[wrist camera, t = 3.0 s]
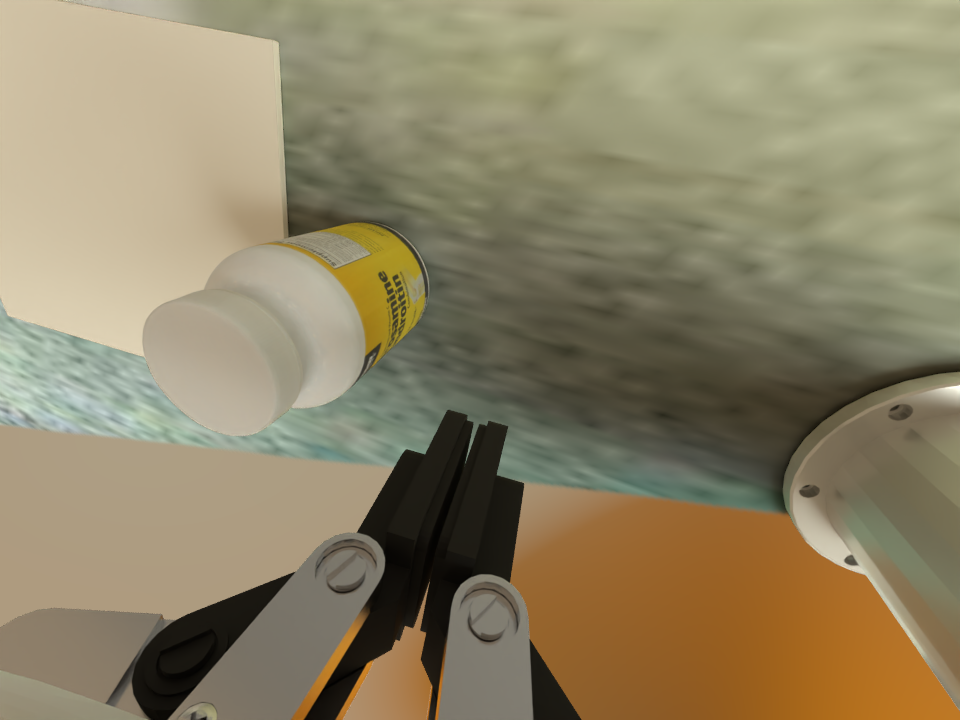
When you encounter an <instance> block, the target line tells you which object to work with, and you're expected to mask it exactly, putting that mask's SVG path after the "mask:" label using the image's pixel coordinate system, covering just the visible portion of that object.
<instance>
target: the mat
mask: <svg viewBox="0 0 960 720" xmlns="http://www.w3.org/2000/svg"><path fill="white" fill-rule="evenodd" d="M285 238H289V235H288V216H287V196H286V176H285V156H284V136H283V117H282V97H281V77H280V57H279V42H276V41H274V40H270V39H264V38H259V37H254V36H248V35H243V34H237V33H232V32H227V31H221V30H216V29H210V28H205V27H199V26H194V25H189V24H183V23H178V22H172V21H167V20H162V19H156V18H151V17H145V16H140V15H134V14H129V13H124V12H118V11H113V10H107V9H102V8H97V7H91V6H86V5H80V4H75V3H69V2H64V1H59V0H0V298H1V301H2V303H3V305H4V308H5V310H6V312H7V315H8V316H10V317H14V318H17V319H20V320H24V321H27V322H30V323H34V324H37V325H40V326H43V327H47V328H50V329H53V330H57V331H60V332H63V333H66V334H70V335H73V336H76V337H80V338H83V339H86V340H89V341H93V342H96V343H99V344H103V345H106V346H109V347H113V348H116V349H119V350H122V351H126V352H129V353H132V354H136V355H139V356H142V357H145V356H144V352H143V345H142V334H143V328H144V325H145V322H146V319H147V318H148V316H149V315H150V314H151V312H152V311H153V310H154V309H156V308H157V307H158V306H160V305H161V304H164V303H166V302H168V301H171V300H174V299H177V298H180V297H182V296H185V295H187V294H190V293H193V292H196V291H200V290H204V287H205V285H206V283H207V281H208V278H209V277H210V275H211V274H212V272H213V271H214V269H215V268H216V267H217V266H218V265H219V264H220V263H221V262H222V261H223V260H224V259H225V258H227V257H228V256H230V255H231V254H233V253H235V252H237V251H240V250H242V249H245V248H248V247H252V246H256V245H260V244H264V243H268V242H273V241H277V240H281V239H285Z"/></svg>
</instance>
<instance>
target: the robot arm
mask: <svg viewBox="0 0 960 720" xmlns="http://www.w3.org/2000/svg"><path fill="white" fill-rule="evenodd" d="M472 429H473V422H471V421H467V415H466V414H462V413H458V412H455V411H451V410H447V412H446V414H445V416H444V418H443V420H442V422H441V424H440V426H439V428H438V430H437V432H436V434H435V436H434V438H433V440H432V442H431V444H430V446H429V448H428V450H427V452H426V454H421V453H418V452H414V451H411V450H407V449H406V450H405V451H404V452H403V454H402V455H401V457H400V459H399V461H398V462H397V464H396V466H395V467H394V469H393V471H392V473H391V474H390V476H389V478H388V480H387V481H386V483H385V485H384V487H383V488H382V490H381V492H380V493H379V495H378V497H377V499H376V500H375V502H374V504H373V506H372V507H371V509H370V511H369V513H368V514H367V516H366V518H365V519H364V521H363V523H362V525H361V526H360V528H359V530H358V532H357V533H344V534H340V535H335V536H334V537H332V538H330V539H328V540H326V541H324V542H323V543H322V544H321V545H320V546H319V547H317V548H316V549H315V550H314V552H313V553H312V554H311V555H310V556H309V557H308V558H307V560H306V561H305V562H304V563H303V564H302V565H301V567H300V568H299V569H298V570H297V571H296V572H293V573H291V574H288V575H286V576H283V577H281V578H278V579H276V580H273V581H270V582H268V583H265V584H263V585H260V586H258V587H255V588H253V589H251V590H248V591H245V592H243V593H240V594H238V595H235V596H233V597H230V598H228V599H225V600H222V601H220V602H217V603H215V604H212V605H210V606H207V607H205V608H202V609H200V610H197V611H195V612H192V613H190V614H187V615H185V616H183V617H181V618H179V619H177V620H165V619H164V618H163V615H162V614H149V613H132V612H131V613H130V612H115V611H98V610H81V609H62V608H50V609H41V610H36V611H33V612H30V613H27V614H25V615H22V616H19V617H17V618H15V619H14V620H12V621H10V622H9V623H7V624H5V625H3V626H2V627H0V720H343V718H344V716H345V714H346V713H347V711H348V709H349V707H350V705H351V703H352V702H353V700H354V698H355V696H356V694H357V693H358V691H359V689H360V687H361V685H362V683H363V682H364V680H365V678H366V676H367V674H368V672H369V671H370V669H371V667H372V664H373V662H374V659H376V658H378V657H379V656H381V655H383V654H385V653H386V652H388V651H390V650H392V647H393V645H394V642H395V639H396V640H399V641H400V638H401V635H402V632H403V630H404V627H405V626H408V627H411V628H413V627H414V625H415V622H416V620H417V616H418V613H419V611H420V608H421V605H422V601H423V599H424V596H425V593H426V590H427V587H428V584H429V581H430V584H429V588H428V593H427V598H426V604H425V609H424V614H423V619H422V624H421V629H420V630H421V631H423V632H426V637H425V642H424V647H423V651H422V656H421V661H422V664H423V666H424V668H425V670H426V673H427V675H428V677H429V680H430V682H431V684H432V686H431V691H430V698H429V705H428V712H427V719H426V720H581V718H580V717H579V716H578V714H577V712H576V711H575V709H574V708H573V706H572V704H571V703H570V701H569V700H568V698H567V697H566V695H565V693H564V692H563V690H562V689H561V687H560V686H559V684H558V682H557V681H556V680H555V678H554V676H553V675H552V673H551V672H550V670H549V669H548V667H547V665H546V664H545V662H544V661H543V659H542V658H541V656H540V654H539V653H538V652H537V650H536V648H535V647H534V645H533V643H532V642H531V640H530V639H529V621H528V614H527V608H526V604H525V602H524V600H523V599H522V596H521V594H520V593H519V592H518V591H517V590H516V589H515V588H514V586H513V585H512V584H510V577H511V571H512V563H513V558H514V550H515V544H516V537H517V531H518V523H519V517H520V510H521V504H522V497H523V490H524V483H522V482H518V481H515V480H511V479H508V478H504V477H501V476H497V470H498V466H499V462H500V458H501V454H502V450H503V445H504V441H505V437H506V433H507V429H508V426H506V425H502V424H498V423H495V422H491V421H488V424H487V426H485V425H481V424H479V427H478V430H477V432H476V435H475V438H474V441H473V444H472V447H471V449H470V452H469V455H468V458H467V461H466V457H467V452H468V447H469V443H470V438H471V433H472ZM465 461H466V464H465ZM464 466H465V467H464ZM783 496H784V502H785V507H786V510H787V512H788V514H789V516H790V518H791V520H792V522H793V523H794V525H795V527H796V528H797V530H798V531H799V533H800V534H801V535H802V537H803V539H804V540H805V541H806V542H807V543H808V544H809V545H810V546H811V547H812V548H813V549H815V550H816V551H817V552H818V553H819V554H821V555H822V556H824V557H826V558H827V559H829V560H831V561H832V562H834V563H836V564H837V565H840V566H842V567H845V568H847V569H849V570H852V571H854V572H857V573H860V574H864V575H866V576H867V577H868V578H869V580H870V581H871V583H872V584H873V586H874V587H875V589H876V590H877V591H878V593H879V594H880V596H881V597H882V599H883V600H884V602H885V603H886V605H887V606H888V607H889V609H890V610H891V612H892V613H893V615H894V616H895V617H896V619H897V620H898V622H899V623H900V625H901V626H902V628H903V629H904V630H905V632H906V634H907V635H908V636H909V638H910V639H911V641H912V642H913V644H914V645H915V647H916V648H917V650H918V651H919V652H920V654H921V655H922V657H923V658H924V660H925V661H926V663H927V664H928V665H929V667H930V668H931V670H932V671H933V673H934V674H935V675H936V677H937V678H938V680H939V681H940V683H941V684H942V686H943V687H944V689H945V690H946V691H947V693H948V694H949V696H950V697H951V698H952V700H953V702H954V703H955V705H956V706H957V708H958V709H959V710H960V372H953V373H942V374H936V375H931V376H927V377H922V378H917V379H913V380H908V381H904V382H901V383H898V384H895V385H893V386H890V387H887V388H884V389H881V390H878V391H875V392H873V393H871V394H869V395H867V396H865V397H863V398H861V399H859V400H857V401H855V402H853V403H851V404H849V405H847V406H845V407H843V408H842V409H840V410H839V411H837V412H836V413H835V414H833V415H832V416H830V417H829V418H827V419H826V420H824V421H823V422H822V423H821V424H820V425H819V426H818V427H816V428H815V429H814V430H813V431H812V432H811V433H810V434H809V435H808V436H807V437H806V438H805V439H804V440H803V442H802V443H801V445H800V446H799V447H798V449H797V450H796V452H795V453H794V454H793V456H792V458H791V460H790V463H789V465H788V467H787V470H786V472H785V476H784V485H783Z"/></svg>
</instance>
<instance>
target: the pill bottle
mask: <svg viewBox="0 0 960 720" xmlns="http://www.w3.org/2000/svg"><path fill="white" fill-rule="evenodd" d="M428 299H429V279H428V274H427V270H426V267H425V265H424V262H423V260H422V258H421V256H420V255H419V253H418V252H417V250H416V249H415V247H414V246H413V245H412V244H411V243H410V242H409V241H408V240H407V239H406V238H405V237H404V236H403V235H401V234H400V233H399V232H397V231H395V230H394V229H392V228H390V227H388V226H385V225H382V224H379V223H374V222H355V223H349V224H345V225H341V226H337V227H333V228H329V229H324V230H320V231H315V232H311V233H307V234H303V235H298V236H294V237H290V238H285V239H281V240H277V241H273V242H268V243H264V244H260V245H256V246H252V247H248V248H245V249H242V250H240V251H237V252H235V253H233V254H231V255H230V256H228V257H227V258H225V259H224V260H223V261H222V262H221V263H220V264H219V265H218V266H217V267H216V268H215V269H214V271H213V272H212V274H211V275H210V277H209V278H208V281H207V283H206V285H205V287H204V290H200V291H196V292H193V293H190V294H187V295H185V296H182V297H180V298H177V299H174V300H171V301H168V302H166V303H164V304H161V305H160V306H158V307H157V308H156V309H154V310H153V311H152V312H151V314H150V315H149V316H148V318H147V319H146V322H145V325H144V328H143V334H142V345H143V352H144V356H145V359H146V362H147V365H148V367H149V370H150V372H151V374H152V376H153V378H154V379H155V381H156V383H157V384H158V386H159V387H160V388H161V390H162V391H163V392H164V394H165V395H166V396H167V397H168V398H169V399H170V400H171V402H172V403H173V404H174V405H175V406H176V407H178V408H179V409H180V410H181V411H182V412H183V413H184V414H186V415H187V416H188V417H189V418H191V419H192V420H193V421H195V422H196V423H198V424H200V425H202V426H204V427H206V428H208V429H210V430H212V431H215V432H218V433H221V434H225V435H229V436H247V435H252V434H255V433H258V432H260V431H262V430H263V429H265V428H266V427H268V426H269V425H270V424H272V423H273V422H274V421H276V420H277V419H278V418H279V417H281V416H282V415H283V414H285V413H286V412H287V411H288V410H289V409H290V408H311V407H317V406H321V405H324V404H327V403H329V402H331V401H333V400H335V399H337V398H338V397H340V396H341V395H342V394H344V393H345V392H346V391H347V390H348V389H349V388H351V387H352V386H353V385H354V384H355V383H356V382H357V381H358V380H359V379H360V378H361V377H362V376H363V375H364V374H365V373H366V372H367V371H368V370H369V369H370V368H371V367H373V366H374V365H375V364H376V363H377V362H378V361H379V360H380V359H381V358H382V357H383V356H384V355H385V354H386V353H387V352H388V351H389V350H390V349H391V348H392V347H394V346H395V345H396V344H397V343H398V342H399V341H400V340H401V339H402V338H403V337H404V336H405V335H406V334H407V333H408V332H409V331H410V330H411V329H412V328H413V327H414V326H415V325H416V324H417V323H418V322H419V320H420V319H421V317H422V316H423V314H424V312H425V309H426V307H427V304H428Z"/></svg>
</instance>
